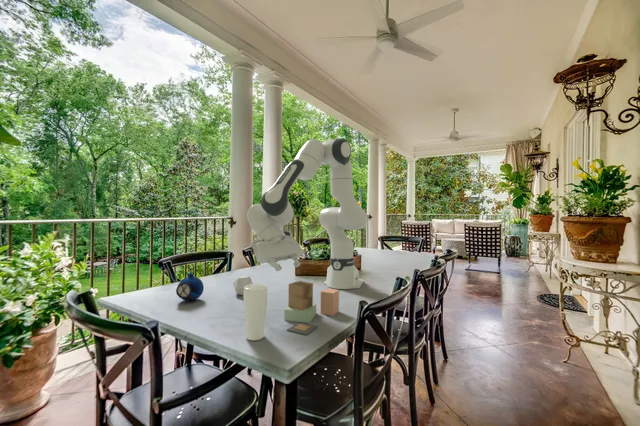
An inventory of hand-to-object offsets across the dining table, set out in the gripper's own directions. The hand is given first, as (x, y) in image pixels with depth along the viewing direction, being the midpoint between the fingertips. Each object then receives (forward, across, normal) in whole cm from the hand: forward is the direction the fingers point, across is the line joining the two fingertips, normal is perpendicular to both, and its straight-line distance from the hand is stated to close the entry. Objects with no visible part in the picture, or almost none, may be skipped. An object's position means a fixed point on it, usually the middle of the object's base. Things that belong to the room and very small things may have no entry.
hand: (289, 267), depth 108 cm
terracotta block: (+20, +10, +4) cm, 22 cm away
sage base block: (+16, 0, +7) cm, 18 cm away
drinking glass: (+17, -22, +6) cm, 28 cm away
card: (+22, -8, +1) cm, 23 cm away
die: (-10, +2, +34) cm, 35 cm away
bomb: (-16, -18, +39) cm, 46 cm away
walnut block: (+13, 0, +4) cm, 14 cm away
